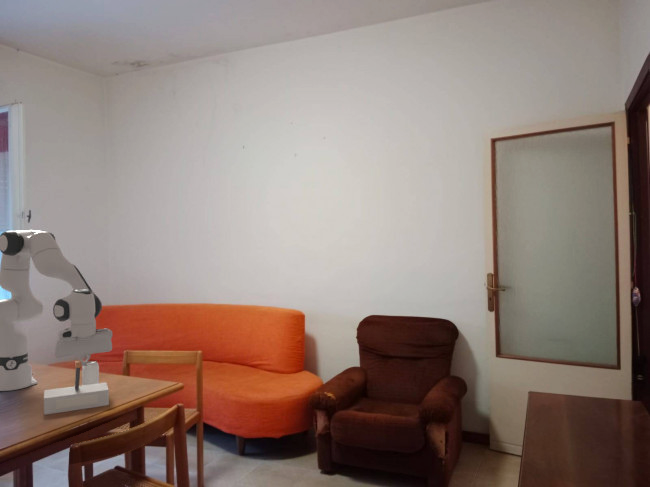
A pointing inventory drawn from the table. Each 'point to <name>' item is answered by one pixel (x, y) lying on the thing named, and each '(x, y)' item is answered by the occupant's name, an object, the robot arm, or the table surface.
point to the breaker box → (75, 398)
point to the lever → (77, 374)
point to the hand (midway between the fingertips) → (84, 365)
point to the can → (90, 373)
